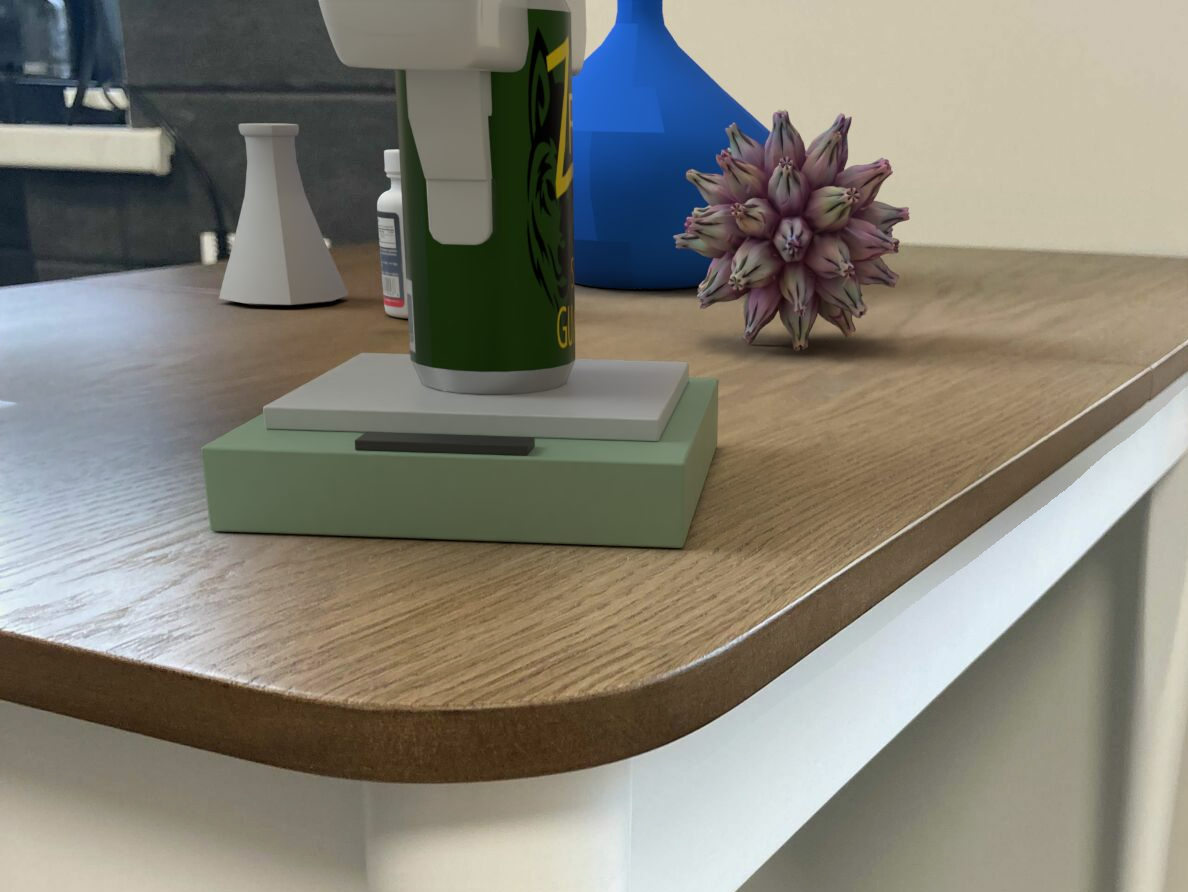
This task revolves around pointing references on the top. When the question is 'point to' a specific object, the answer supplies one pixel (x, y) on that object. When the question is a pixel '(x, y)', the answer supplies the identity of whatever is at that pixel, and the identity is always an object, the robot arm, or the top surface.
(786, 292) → the flower
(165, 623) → the top surface
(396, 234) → the pill bottle
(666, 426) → the scale
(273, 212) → the flask
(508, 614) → the top surface
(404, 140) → the beer can
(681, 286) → the vase
